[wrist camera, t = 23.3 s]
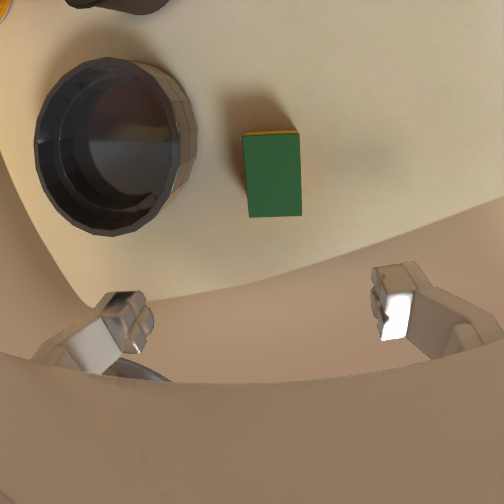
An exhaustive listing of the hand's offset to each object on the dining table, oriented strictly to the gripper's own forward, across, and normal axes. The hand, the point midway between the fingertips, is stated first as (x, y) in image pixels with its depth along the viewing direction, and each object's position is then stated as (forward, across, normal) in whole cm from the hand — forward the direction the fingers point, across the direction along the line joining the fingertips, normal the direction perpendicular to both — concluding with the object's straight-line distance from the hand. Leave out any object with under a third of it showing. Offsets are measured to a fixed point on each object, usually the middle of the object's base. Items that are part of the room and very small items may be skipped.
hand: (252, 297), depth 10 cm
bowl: (+19, +14, -6) cm, 24 cm away
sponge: (+19, 0, 0) cm, 19 cm away
